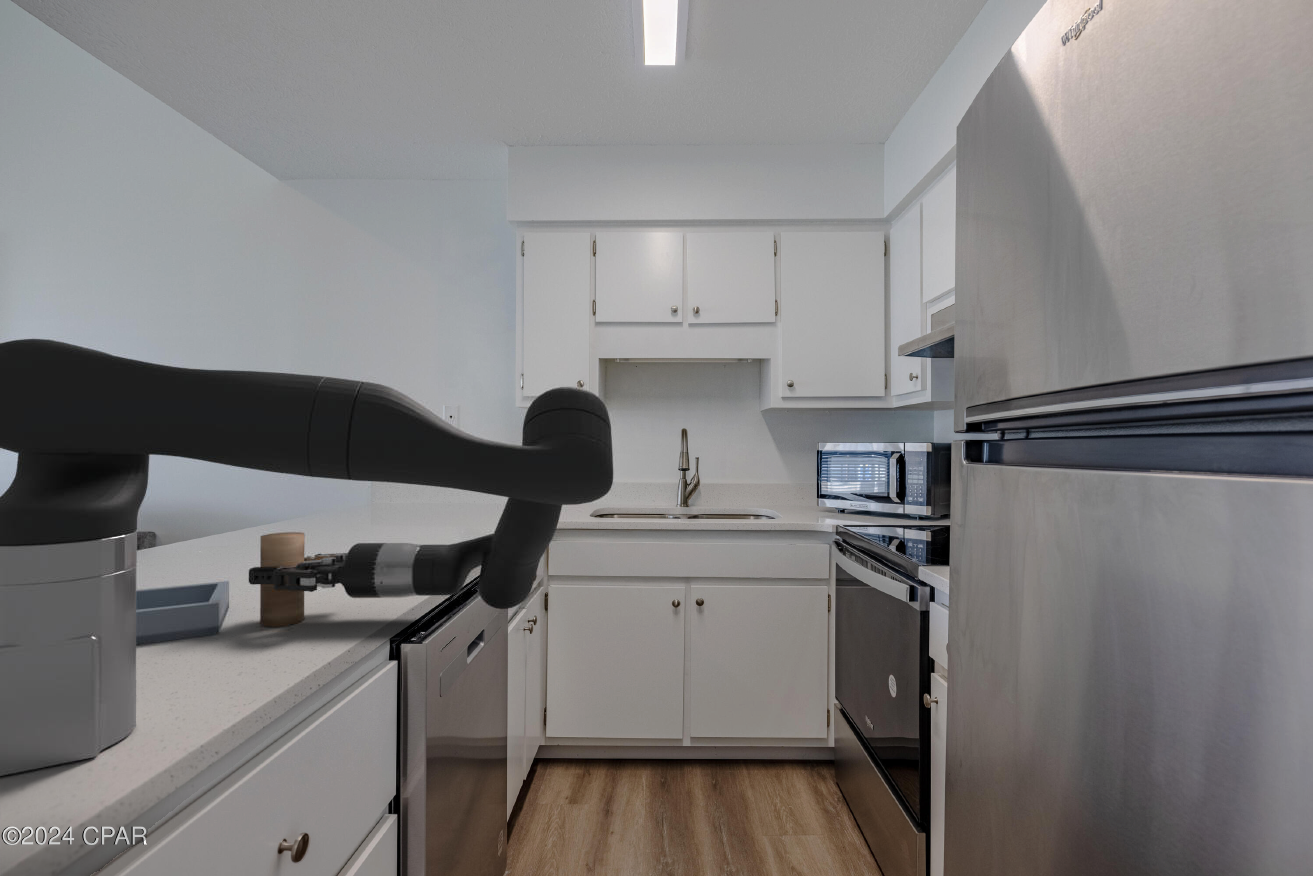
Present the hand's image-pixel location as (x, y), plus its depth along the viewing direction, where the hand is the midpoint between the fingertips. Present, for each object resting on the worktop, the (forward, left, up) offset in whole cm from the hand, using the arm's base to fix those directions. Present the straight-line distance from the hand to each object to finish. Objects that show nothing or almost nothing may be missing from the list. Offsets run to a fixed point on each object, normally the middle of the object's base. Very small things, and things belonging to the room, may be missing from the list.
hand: (263, 570), depth 84 cm
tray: (+4, +12, -7) cm, 14 cm away
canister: (-1, -2, -7) cm, 7 cm away
